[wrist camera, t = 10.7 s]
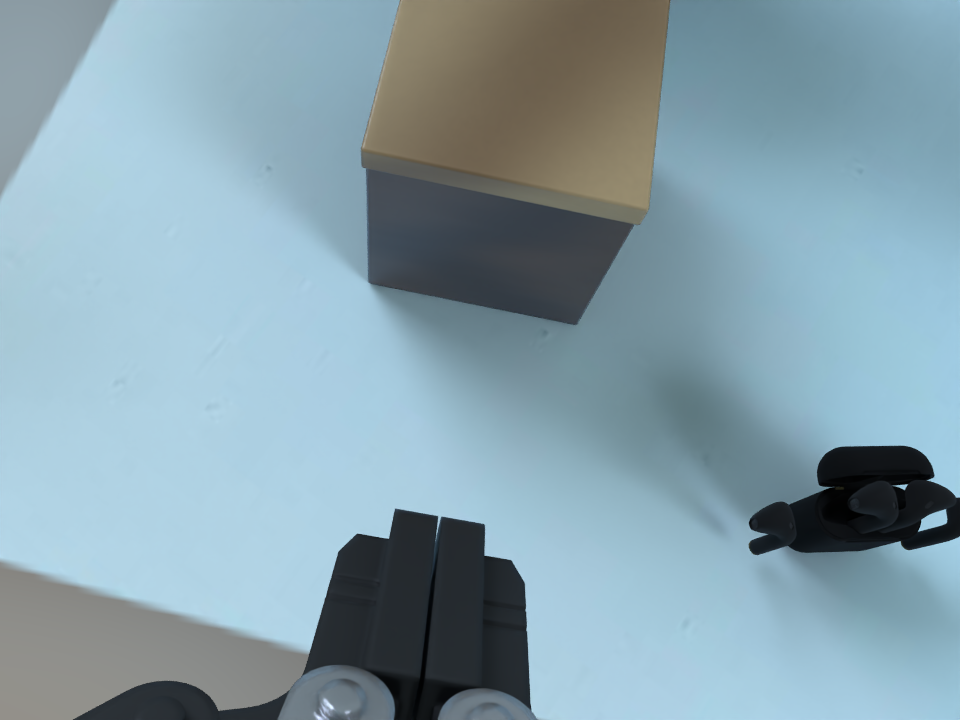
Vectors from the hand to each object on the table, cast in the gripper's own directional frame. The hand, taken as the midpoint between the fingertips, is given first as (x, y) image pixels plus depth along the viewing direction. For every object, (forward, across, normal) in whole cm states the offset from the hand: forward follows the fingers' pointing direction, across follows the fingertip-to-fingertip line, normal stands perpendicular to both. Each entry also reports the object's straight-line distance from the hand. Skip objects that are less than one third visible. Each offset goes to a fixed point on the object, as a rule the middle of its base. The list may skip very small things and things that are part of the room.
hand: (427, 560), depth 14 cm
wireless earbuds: (+11, -12, +4) cm, 17 cm away
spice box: (+17, -1, -2) cm, 17 cm away
